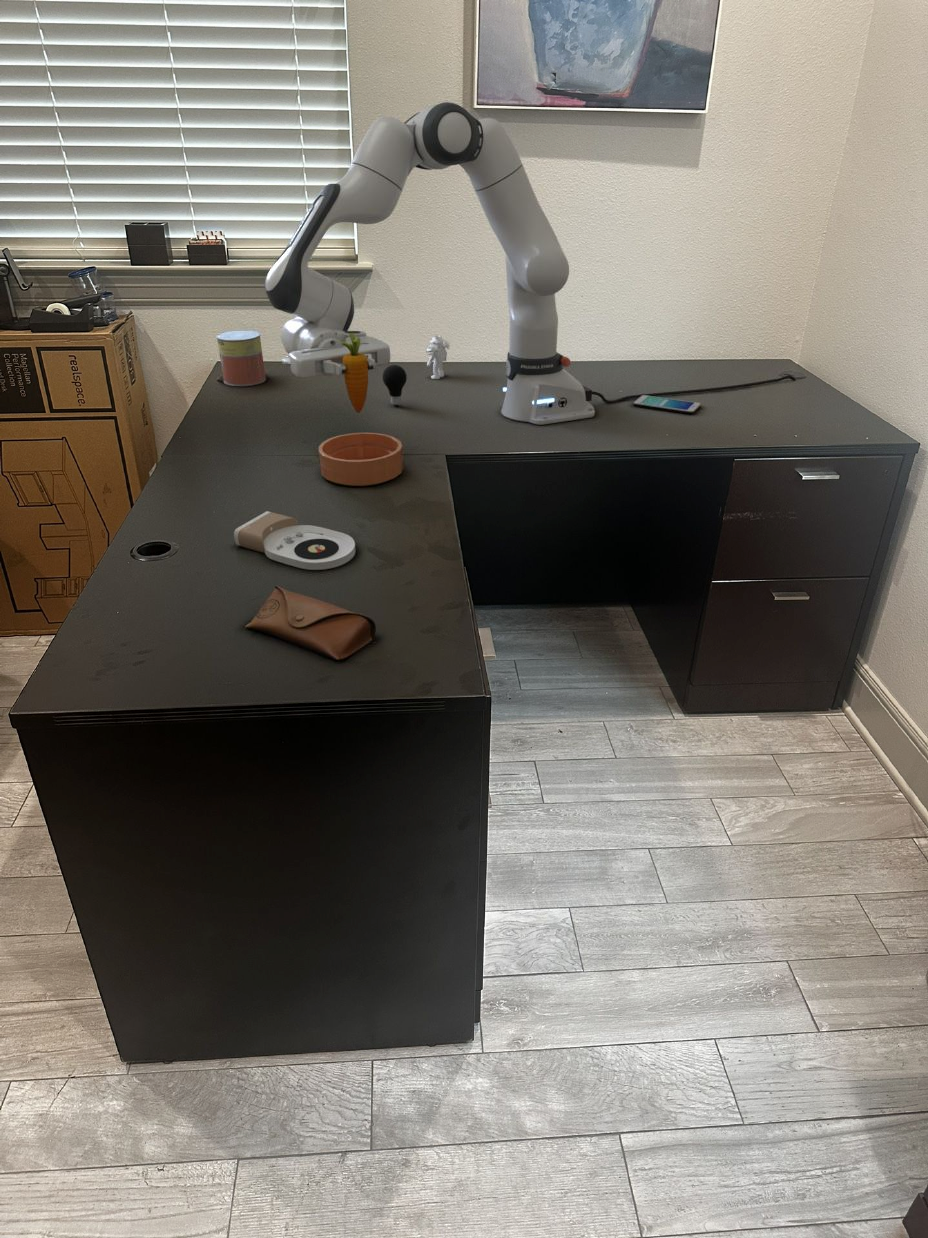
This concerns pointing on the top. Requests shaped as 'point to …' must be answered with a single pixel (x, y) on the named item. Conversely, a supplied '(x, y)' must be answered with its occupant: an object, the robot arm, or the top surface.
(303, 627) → the sunglasses case
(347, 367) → the carrot
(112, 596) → the top surface
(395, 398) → the light bulb
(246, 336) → the canned food
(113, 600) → the top surface
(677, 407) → the smartphone
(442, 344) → the hat wearing toy figure
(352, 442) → the pot
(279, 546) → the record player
